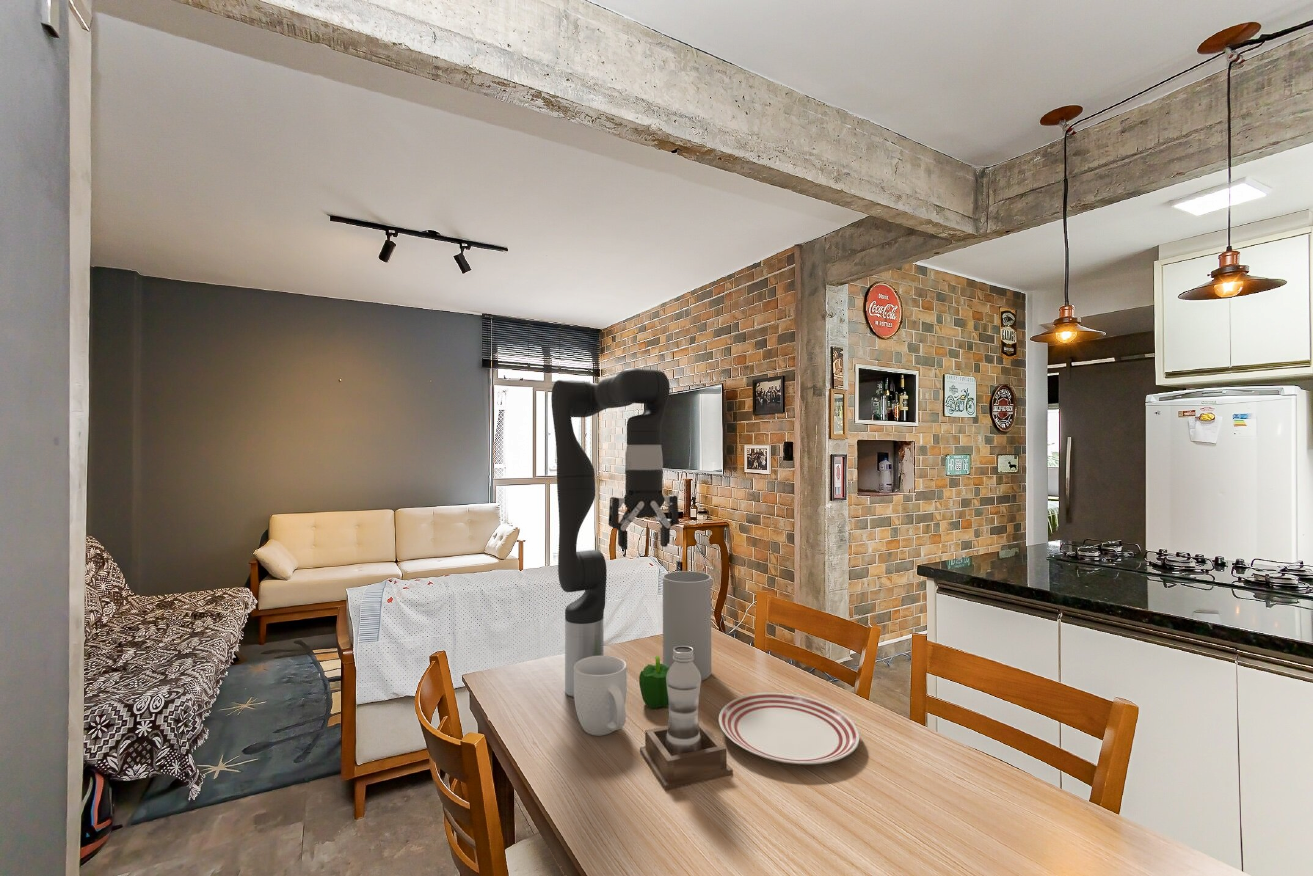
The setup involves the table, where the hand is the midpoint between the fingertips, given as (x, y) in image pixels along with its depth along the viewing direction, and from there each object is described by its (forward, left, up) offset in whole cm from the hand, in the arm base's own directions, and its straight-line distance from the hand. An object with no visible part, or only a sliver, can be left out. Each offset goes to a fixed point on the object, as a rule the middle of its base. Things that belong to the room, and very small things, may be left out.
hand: (644, 547), depth 113 cm
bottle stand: (+11, +4, -38) cm, 40 cm away
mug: (-6, -7, -38) cm, 39 cm away
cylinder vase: (-26, +21, -38) cm, 51 cm away
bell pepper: (-13, +8, -38) cm, 41 cm away
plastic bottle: (+11, +4, -38) cm, 39 cm away
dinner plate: (+10, +27, -39) cm, 48 cm away
